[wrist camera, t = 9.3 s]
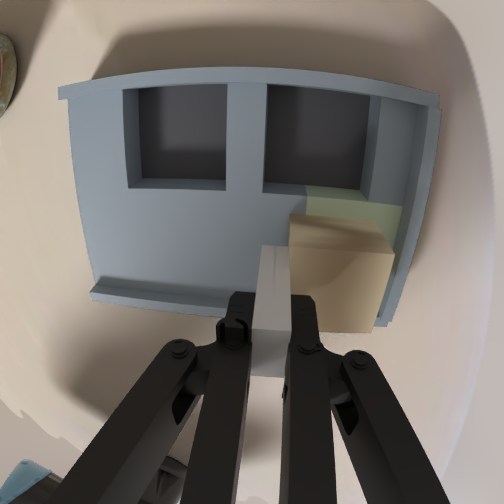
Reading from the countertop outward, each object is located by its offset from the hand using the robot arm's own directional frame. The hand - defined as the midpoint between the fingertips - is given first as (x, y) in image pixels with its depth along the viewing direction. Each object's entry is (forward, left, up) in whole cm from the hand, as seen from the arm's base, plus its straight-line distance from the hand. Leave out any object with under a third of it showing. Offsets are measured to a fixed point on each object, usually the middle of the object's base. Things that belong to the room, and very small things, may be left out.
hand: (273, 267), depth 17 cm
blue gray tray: (-2, +3, -4) cm, 6 cm away
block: (+3, 0, -2) cm, 4 cm away
